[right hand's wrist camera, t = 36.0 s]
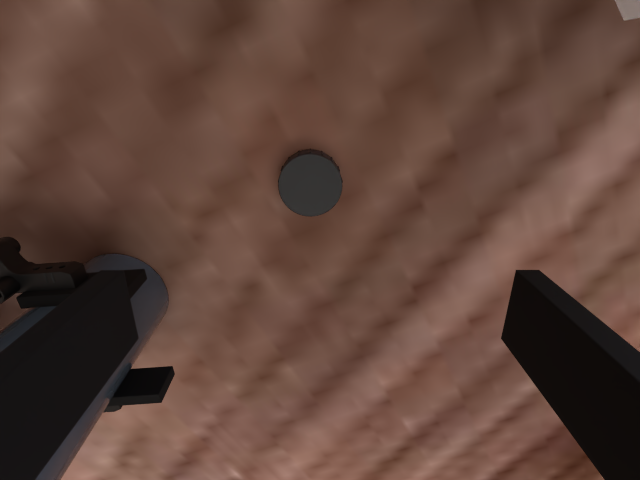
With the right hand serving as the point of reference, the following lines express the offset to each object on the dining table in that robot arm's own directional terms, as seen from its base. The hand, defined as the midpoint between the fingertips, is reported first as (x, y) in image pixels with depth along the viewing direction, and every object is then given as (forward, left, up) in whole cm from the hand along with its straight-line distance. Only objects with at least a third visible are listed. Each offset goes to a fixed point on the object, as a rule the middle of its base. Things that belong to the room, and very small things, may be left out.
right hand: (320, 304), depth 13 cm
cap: (0, -1, -14) cm, 14 cm away
